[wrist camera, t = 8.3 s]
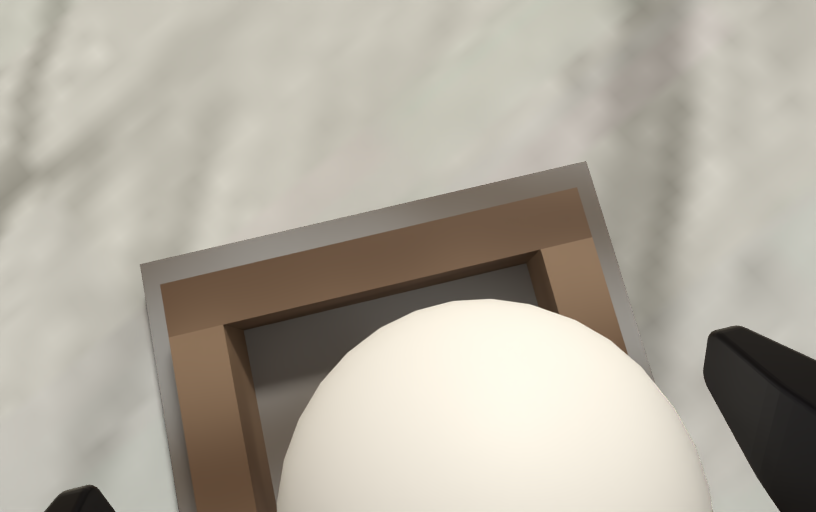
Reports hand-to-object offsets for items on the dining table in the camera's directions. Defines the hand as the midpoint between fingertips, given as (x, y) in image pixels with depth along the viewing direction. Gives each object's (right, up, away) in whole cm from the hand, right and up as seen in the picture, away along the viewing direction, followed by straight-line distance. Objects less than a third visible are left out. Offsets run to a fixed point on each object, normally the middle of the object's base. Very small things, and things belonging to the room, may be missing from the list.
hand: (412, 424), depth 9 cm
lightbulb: (+1, -3, +8) cm, 9 cm away
